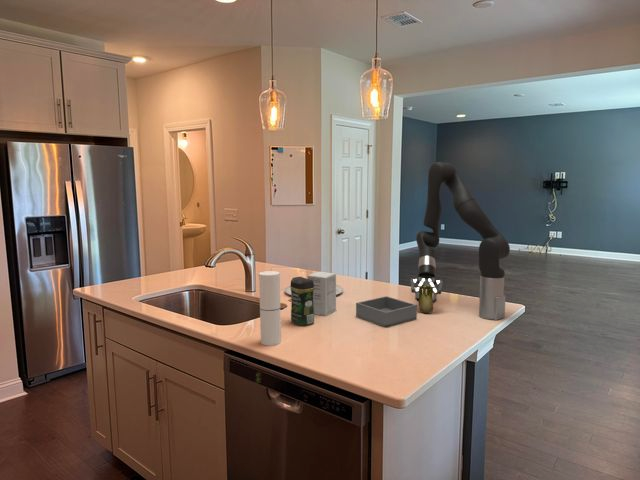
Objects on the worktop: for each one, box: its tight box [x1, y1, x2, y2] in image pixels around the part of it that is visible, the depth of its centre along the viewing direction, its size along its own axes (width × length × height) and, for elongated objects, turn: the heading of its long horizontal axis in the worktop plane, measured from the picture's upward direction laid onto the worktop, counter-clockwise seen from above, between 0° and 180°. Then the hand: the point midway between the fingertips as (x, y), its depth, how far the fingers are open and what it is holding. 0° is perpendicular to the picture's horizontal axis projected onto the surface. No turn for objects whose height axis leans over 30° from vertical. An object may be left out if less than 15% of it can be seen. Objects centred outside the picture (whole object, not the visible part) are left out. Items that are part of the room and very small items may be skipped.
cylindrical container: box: [258, 270, 282, 347], centre depth 157 cm, size 7×7×25 cm
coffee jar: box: [289, 276, 315, 326], centre depth 178 cm, size 10×8×19 cm
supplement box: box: [306, 271, 337, 317], centre depth 193 cm, size 10×9×17 cm
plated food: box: [284, 284, 344, 296], centre depth 228 cm, size 30×30×3 cm
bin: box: [355, 295, 418, 329], centre depth 184 cm, size 18×18×6 cm
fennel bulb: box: [417, 285, 434, 314], centre depth 191 cm, size 6×5×12 cm
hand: (425, 300), depth 190 cm, fingers closed on fennel bulb, 6 cm apart
